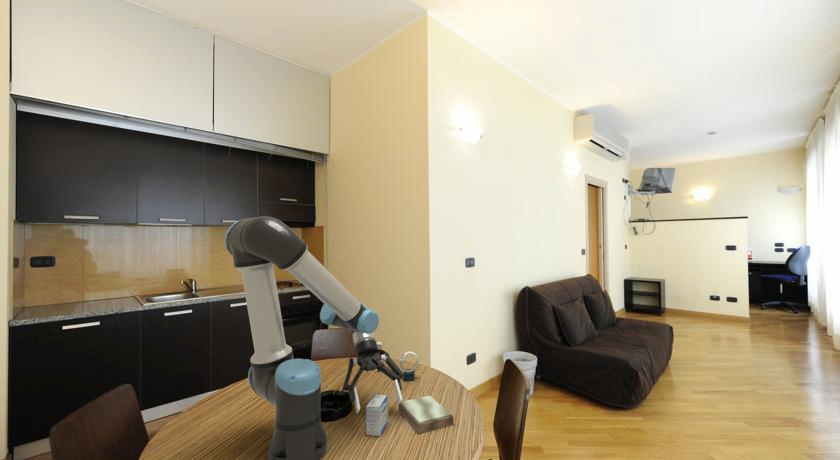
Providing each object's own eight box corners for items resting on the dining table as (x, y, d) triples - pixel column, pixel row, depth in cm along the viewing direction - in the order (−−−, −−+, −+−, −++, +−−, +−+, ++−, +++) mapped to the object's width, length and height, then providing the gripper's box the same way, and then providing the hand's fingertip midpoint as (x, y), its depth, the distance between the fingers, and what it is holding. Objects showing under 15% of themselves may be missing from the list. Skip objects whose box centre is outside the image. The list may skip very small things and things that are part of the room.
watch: (399, 376, 148) (399, 350, 148) (418, 376, 147) (418, 350, 148) (398, 381, 142) (398, 354, 143) (418, 381, 142) (417, 354, 142)
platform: (418, 433, 103) (418, 423, 103) (398, 410, 117) (398, 401, 117) (453, 424, 108) (453, 414, 108) (430, 403, 122) (430, 394, 122)
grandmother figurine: (372, 373, 151) (372, 344, 152) (369, 370, 155) (369, 341, 155) (388, 370, 155) (388, 341, 156) (385, 367, 159) (385, 339, 159)
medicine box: (380, 437, 101) (380, 406, 102) (365, 435, 102) (365, 405, 103) (388, 423, 109) (388, 395, 109) (374, 422, 110) (374, 394, 110)
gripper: (396, 344, 129) (413, 402, 115) (327, 355, 118) (337, 420, 104) (401, 333, 124) (420, 392, 110) (330, 343, 113) (341, 410, 99)
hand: (380, 406), depth 107 cm, fingers open, 13 cm apart
